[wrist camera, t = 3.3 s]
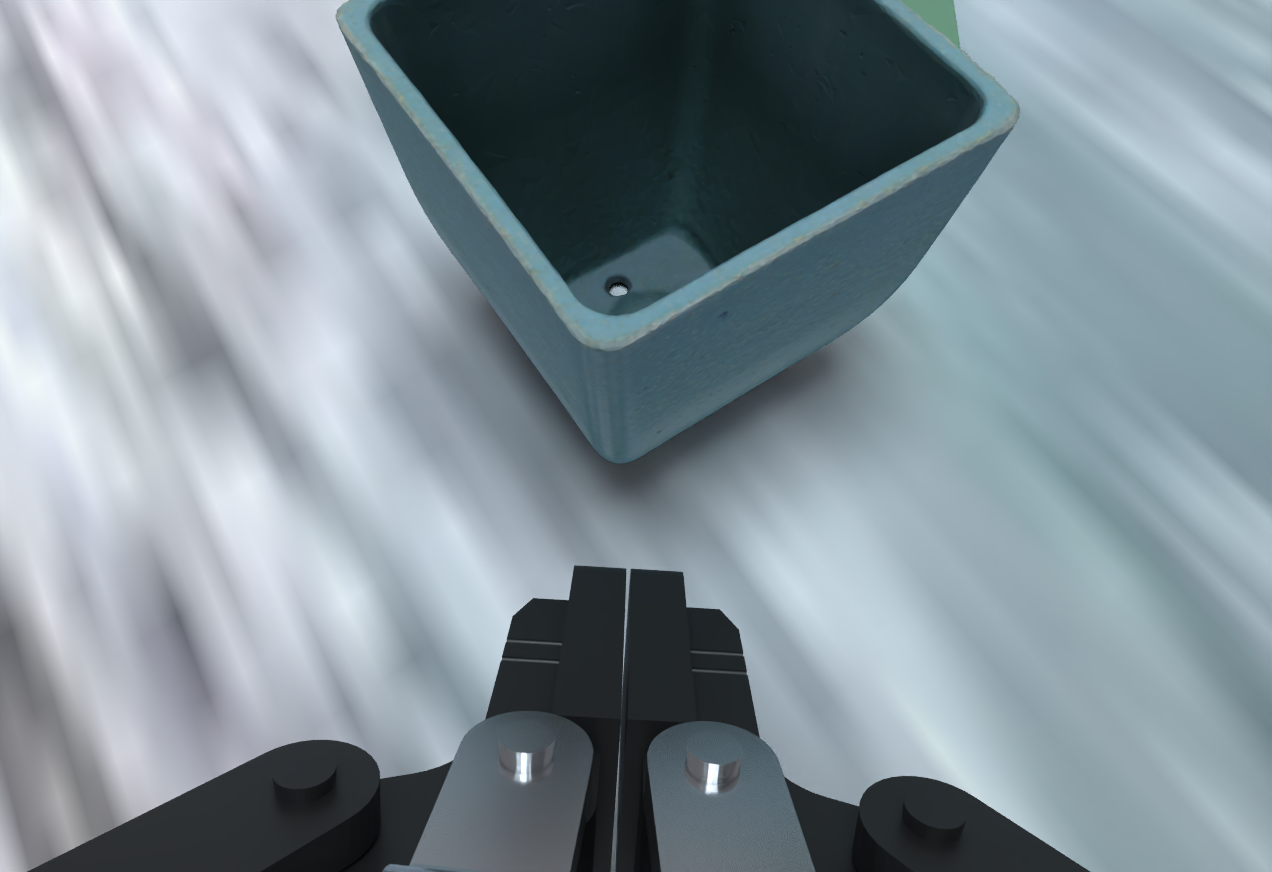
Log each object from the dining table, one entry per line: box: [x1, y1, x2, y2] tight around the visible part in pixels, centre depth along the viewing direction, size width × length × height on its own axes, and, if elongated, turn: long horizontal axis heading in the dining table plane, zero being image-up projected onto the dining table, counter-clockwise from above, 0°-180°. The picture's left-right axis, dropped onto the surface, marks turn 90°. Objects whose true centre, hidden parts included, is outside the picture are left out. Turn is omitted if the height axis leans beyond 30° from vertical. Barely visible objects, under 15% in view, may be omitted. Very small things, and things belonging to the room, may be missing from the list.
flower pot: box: [336, 0, 1020, 464], centre depth 20 cm, size 9×9×9 cm
